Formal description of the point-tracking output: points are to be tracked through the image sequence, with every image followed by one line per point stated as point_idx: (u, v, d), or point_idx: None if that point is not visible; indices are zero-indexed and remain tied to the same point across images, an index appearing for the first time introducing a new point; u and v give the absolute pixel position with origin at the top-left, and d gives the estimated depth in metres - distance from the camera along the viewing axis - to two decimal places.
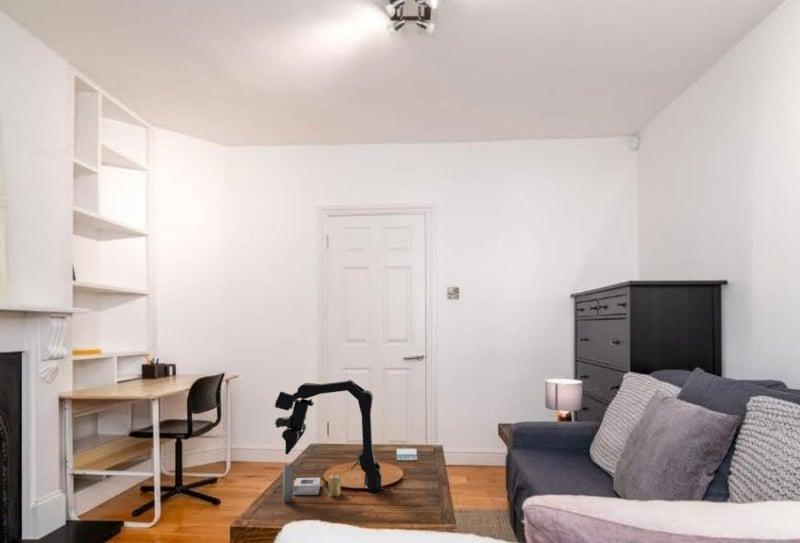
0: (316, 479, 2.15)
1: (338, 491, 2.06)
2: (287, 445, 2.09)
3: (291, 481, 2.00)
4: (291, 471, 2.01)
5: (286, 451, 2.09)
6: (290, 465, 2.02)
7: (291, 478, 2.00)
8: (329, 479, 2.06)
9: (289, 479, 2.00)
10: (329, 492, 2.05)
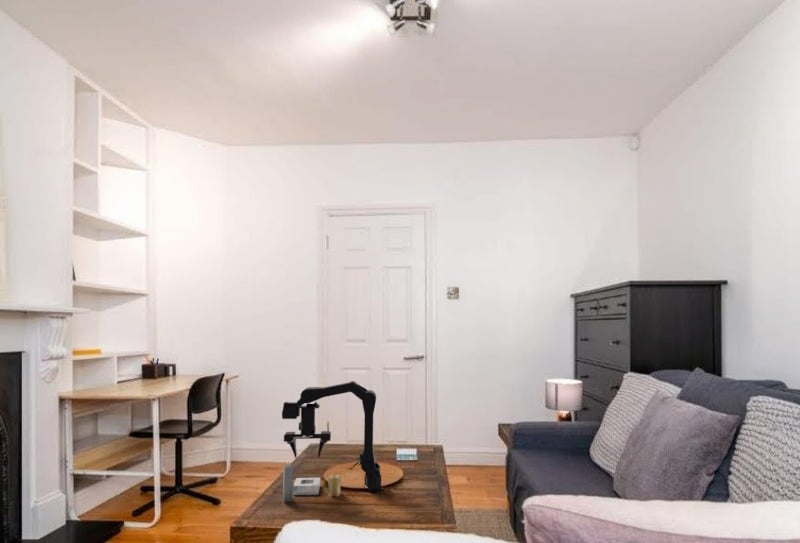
0: (316, 479, 2.15)
1: (338, 491, 2.06)
2: None
3: (291, 481, 2.00)
4: (291, 471, 2.01)
5: None
6: (290, 465, 2.02)
7: (291, 478, 2.00)
8: (329, 479, 2.06)
9: (289, 479, 2.00)
10: (329, 492, 2.05)
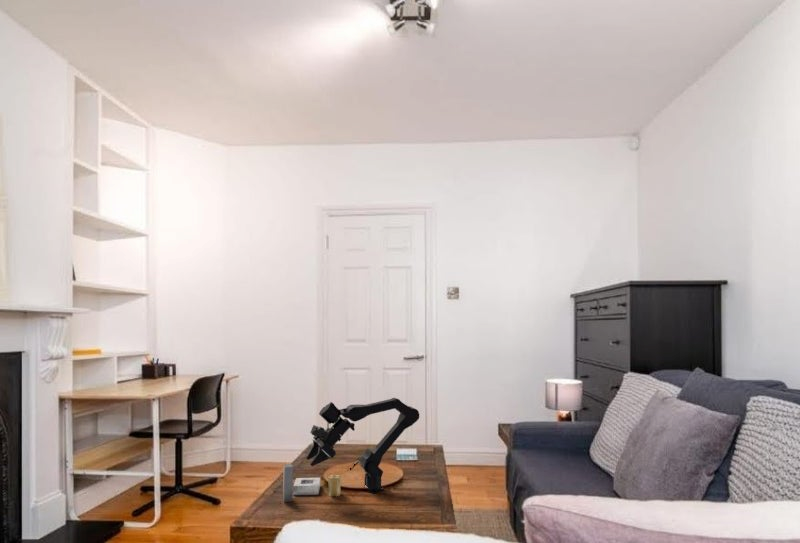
0: (316, 479, 2.15)
1: (338, 491, 2.06)
2: (317, 458, 2.00)
3: (291, 481, 2.00)
4: (291, 471, 2.01)
5: (312, 463, 2.00)
6: (290, 465, 2.02)
7: (291, 478, 2.00)
8: (329, 479, 2.06)
9: (289, 479, 2.00)
10: (329, 492, 2.05)
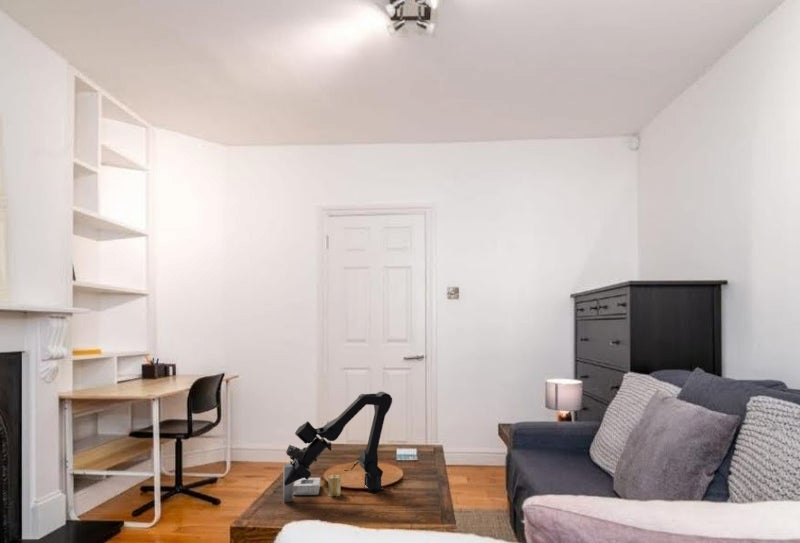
0: (316, 479, 2.15)
1: (338, 491, 2.06)
2: (291, 477, 1.99)
3: None
4: (291, 471, 2.01)
5: (286, 482, 1.99)
6: (290, 465, 2.02)
7: None
8: (329, 479, 2.06)
9: None
10: (329, 492, 2.05)
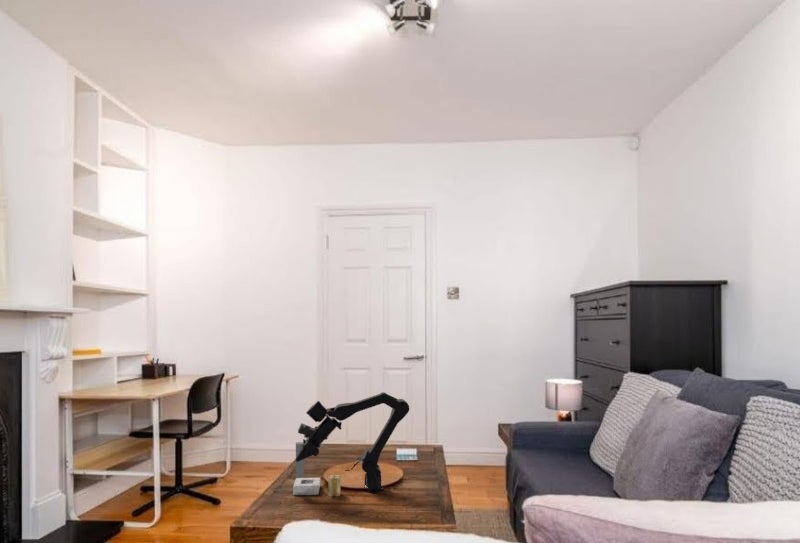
0: (316, 479, 2.15)
1: (338, 491, 2.06)
2: (302, 453, 2.07)
3: None
4: (302, 448, 2.08)
5: (298, 458, 2.07)
6: (302, 443, 2.10)
7: None
8: (329, 479, 2.06)
9: None
10: (329, 492, 2.05)
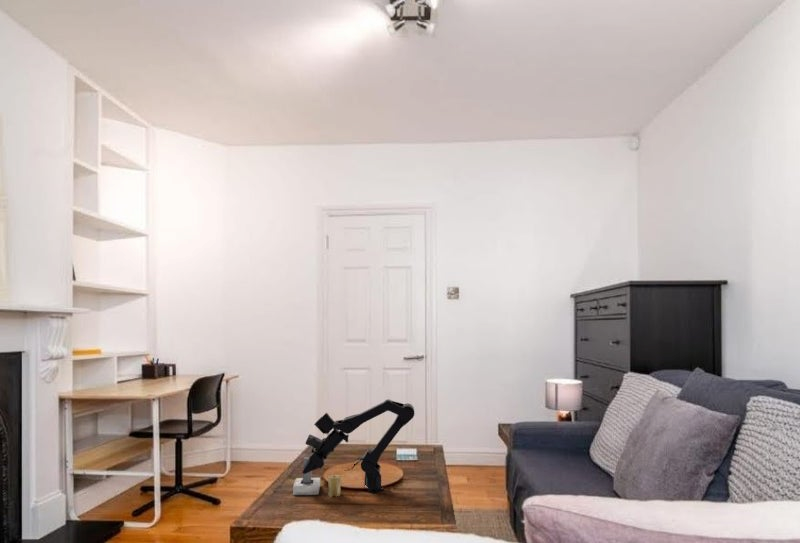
0: (316, 479, 2.15)
1: (338, 491, 2.06)
2: (308, 466, 2.08)
3: (309, 472, 2.11)
4: None
5: (304, 470, 2.08)
6: None
7: None
8: (329, 479, 2.06)
9: None
10: (329, 492, 2.05)
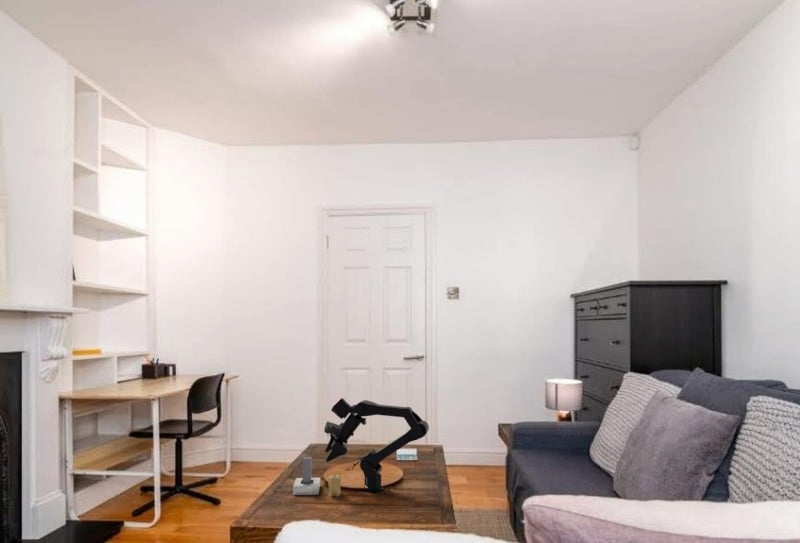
0: (316, 479, 2.15)
1: (338, 491, 2.06)
2: (331, 454, 2.10)
3: (309, 472, 2.11)
4: (309, 463, 2.11)
5: (327, 459, 2.11)
6: (309, 457, 2.13)
7: (309, 470, 2.11)
8: (329, 479, 2.06)
9: (307, 470, 2.11)
10: (329, 492, 2.05)
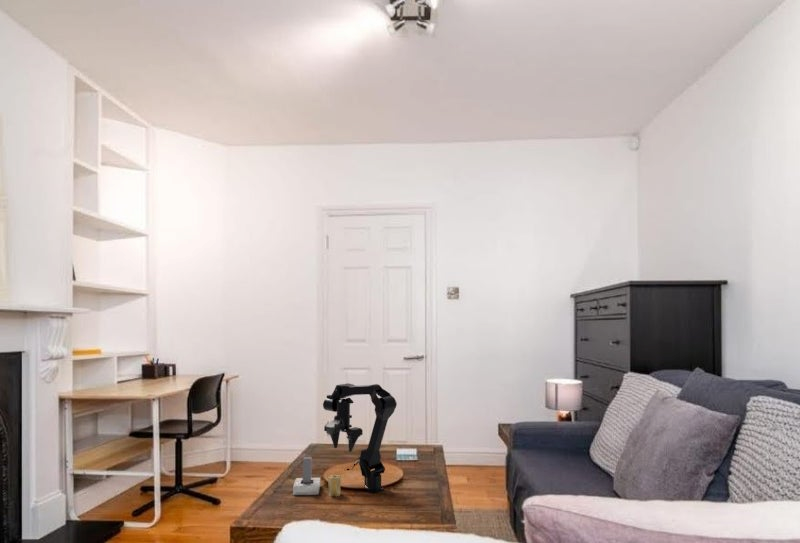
0: (316, 479, 2.15)
1: (338, 491, 2.06)
2: (351, 443, 2.21)
3: (309, 472, 2.11)
4: (309, 463, 2.11)
5: (350, 449, 2.22)
6: (309, 457, 2.13)
7: (309, 470, 2.11)
8: (329, 479, 2.06)
9: (307, 470, 2.11)
10: (329, 492, 2.05)
